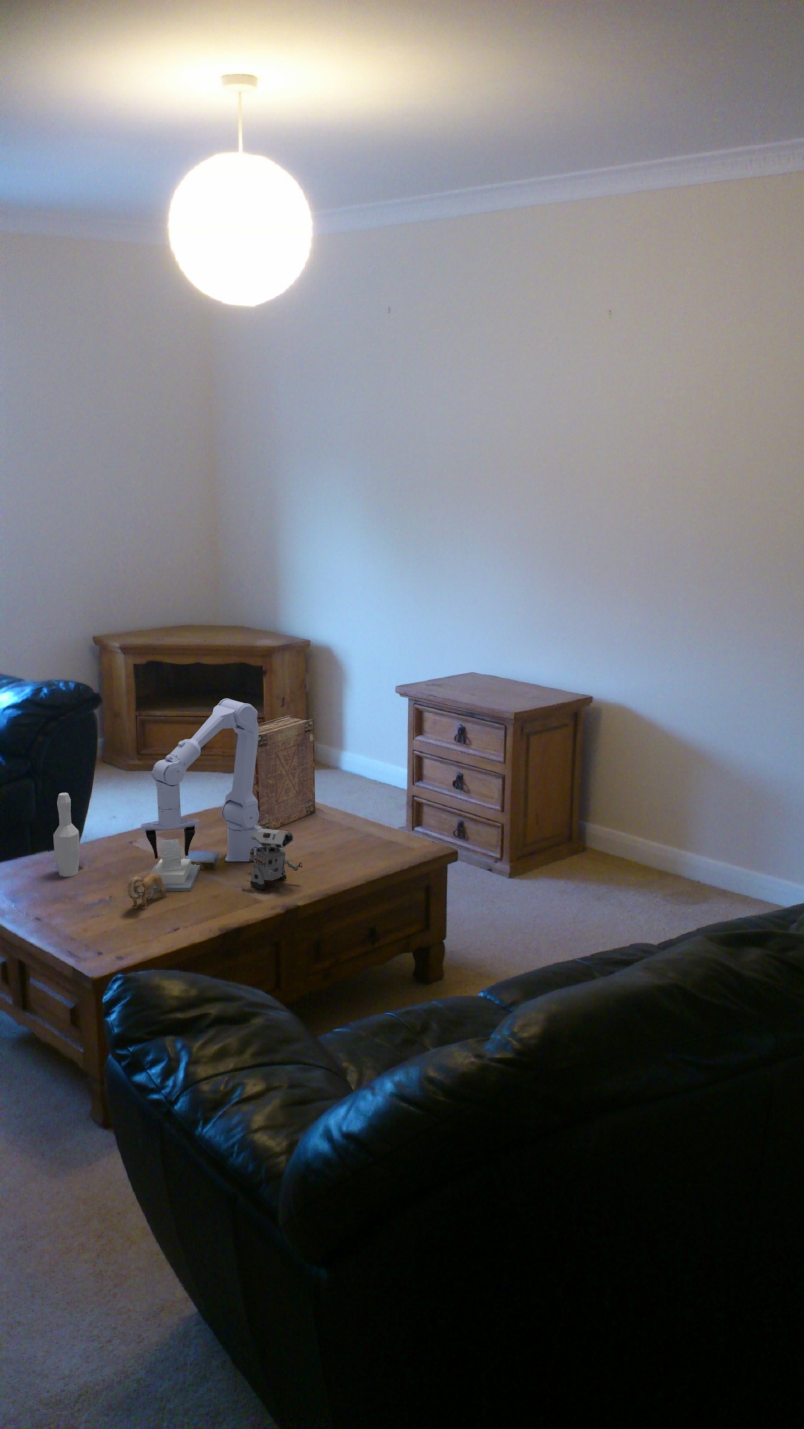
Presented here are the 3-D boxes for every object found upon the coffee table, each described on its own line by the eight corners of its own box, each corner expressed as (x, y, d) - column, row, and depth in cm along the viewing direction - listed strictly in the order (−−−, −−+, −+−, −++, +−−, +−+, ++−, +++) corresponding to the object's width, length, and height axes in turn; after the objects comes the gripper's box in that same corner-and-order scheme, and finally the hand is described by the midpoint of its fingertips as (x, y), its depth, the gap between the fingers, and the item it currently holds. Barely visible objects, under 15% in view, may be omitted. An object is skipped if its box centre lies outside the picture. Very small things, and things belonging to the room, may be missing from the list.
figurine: (277, 896, 276) (276, 839, 272) (246, 884, 282) (244, 829, 279) (302, 885, 282) (302, 830, 279) (271, 874, 289) (270, 820, 286)
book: (292, 807, 344) (291, 714, 336) (315, 812, 338) (314, 718, 331) (236, 829, 323) (233, 731, 316) (259, 835, 318) (257, 736, 311)
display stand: (200, 867, 294) (199, 855, 293) (190, 891, 278) (189, 878, 277) (155, 867, 293) (154, 855, 293) (142, 891, 278) (142, 878, 277)
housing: (179, 860, 289) (178, 839, 288) (181, 870, 283) (180, 848, 281) (162, 862, 288) (161, 840, 287) (163, 871, 281) (162, 849, 280)
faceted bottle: (74, 879, 286) (68, 798, 280) (51, 876, 287) (45, 796, 282) (85, 870, 292) (80, 791, 286) (63, 868, 293) (58, 789, 288)
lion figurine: (142, 916, 263) (140, 881, 261) (122, 913, 265) (120, 879, 262) (171, 893, 277) (169, 859, 275) (152, 890, 278) (150, 857, 276)
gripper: (196, 799, 287) (198, 848, 290) (139, 803, 283) (141, 853, 286) (198, 807, 280) (200, 857, 283) (140, 812, 276) (143, 862, 279)
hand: (171, 856), depth 284 cm, fingers open, 7 cm apart
